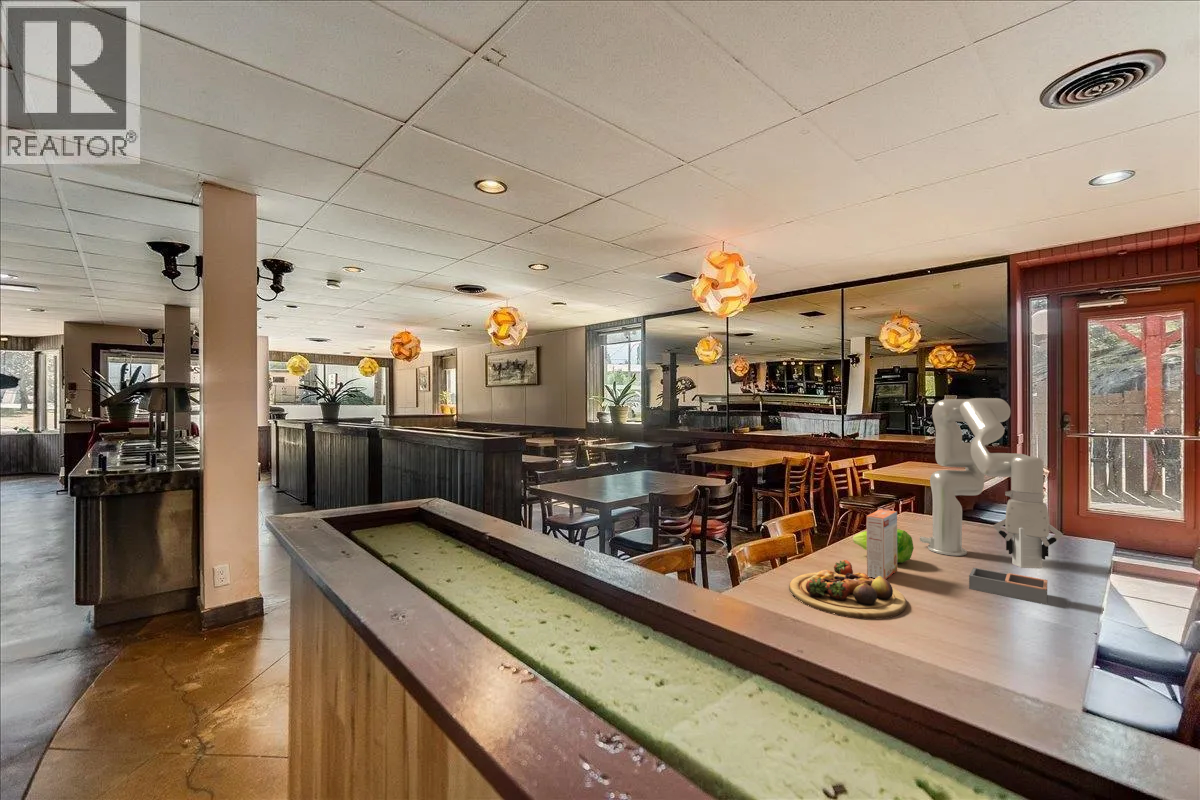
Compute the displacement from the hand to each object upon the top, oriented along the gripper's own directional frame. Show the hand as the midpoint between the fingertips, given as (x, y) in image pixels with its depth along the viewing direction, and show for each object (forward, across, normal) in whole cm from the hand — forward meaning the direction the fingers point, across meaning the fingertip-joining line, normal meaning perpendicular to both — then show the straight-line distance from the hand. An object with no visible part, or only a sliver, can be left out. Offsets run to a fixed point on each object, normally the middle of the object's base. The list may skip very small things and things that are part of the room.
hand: (1026, 555), depth 157 cm
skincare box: (+3, 0, 0) cm, 3 cm away
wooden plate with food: (+13, -41, -38) cm, 57 cm away
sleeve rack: (+12, -5, 0) cm, 13 cm away
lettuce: (+12, -42, +9) cm, 44 cm away
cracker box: (+12, -38, -9) cm, 41 cm away
